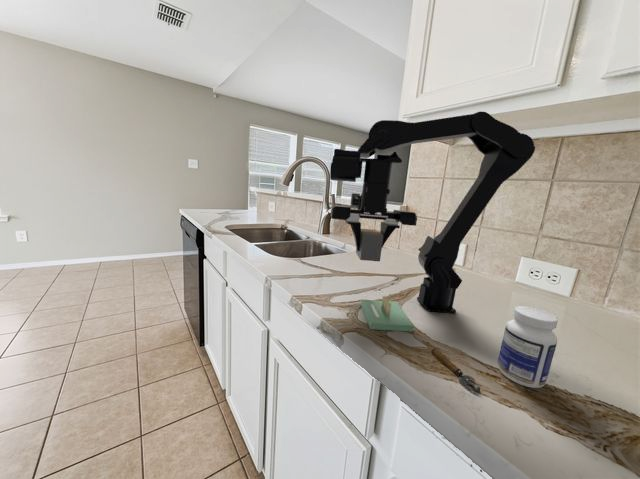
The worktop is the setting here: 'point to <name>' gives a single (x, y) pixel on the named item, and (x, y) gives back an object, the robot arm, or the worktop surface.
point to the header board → (386, 315)
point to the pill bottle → (528, 347)
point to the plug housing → (370, 245)
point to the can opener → (456, 372)
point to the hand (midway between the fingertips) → (367, 251)
